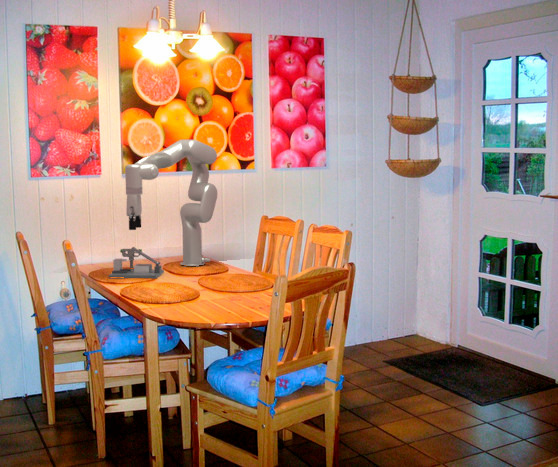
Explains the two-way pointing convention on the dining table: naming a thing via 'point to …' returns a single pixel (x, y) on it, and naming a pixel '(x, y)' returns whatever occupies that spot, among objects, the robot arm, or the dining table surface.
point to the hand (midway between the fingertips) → (135, 228)
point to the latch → (118, 264)
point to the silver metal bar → (146, 256)
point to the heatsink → (142, 268)
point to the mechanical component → (130, 255)
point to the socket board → (130, 274)
